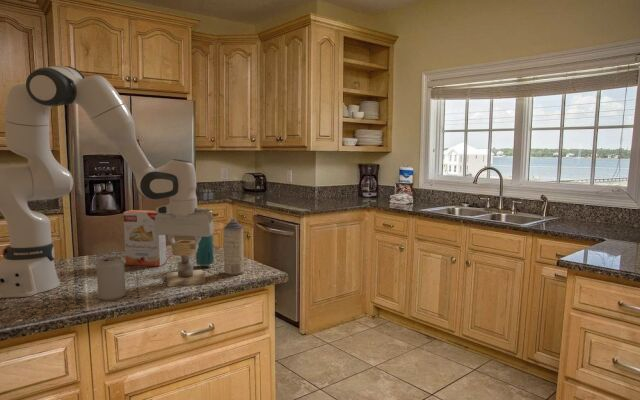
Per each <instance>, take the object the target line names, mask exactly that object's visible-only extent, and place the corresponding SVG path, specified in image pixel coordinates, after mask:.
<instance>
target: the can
mask: <svg viewBox="0 0 640 400" xmlns="http://www.w3.org/2000/svg"><path fill="white" fill-rule="evenodd" d="M122 259H123V258H122V257H121V256H107V257H102V258H100V259H98V263H97V264H96V280H97V283H96V284H97V297H98V298H99V299H101V301H108V302H109V301H115V300H120V299H122V298H123V297H124V296H125V295H126V276H125V261H123V260H122Z"/></svg>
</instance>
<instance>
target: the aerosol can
mask: <svg viewBox="0 0 640 400" xmlns="http://www.w3.org/2000/svg"><path fill="white" fill-rule="evenodd" d="M223 254H224V255H223V256H224V257H223V258H224V259H223V262H224V268H223V269H224V275H226V276H231V277H232V276H233V277H234V276H235V277H236V276H240V275H243V274H244V272H245V271H244V270H245V268H244V267H245V265H244V263H245V262H244V261H245V260H244V256H245V255H244V254H245V253H244V227H243V225H241V224H240V223H239V221H237V218H236V217H231V218H230V221H229V222H228V223H227V224H226V225H225V226H224V227H223Z"/></svg>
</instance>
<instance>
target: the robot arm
mask: <svg viewBox="0 0 640 400" xmlns="http://www.w3.org/2000/svg"><path fill="white" fill-rule="evenodd" d="M25 80H26V81H25V83H19V84H15V85H13V86H12V87H11V88H9V91H8V94H7V99H6V106H5V112H4V113H5V117H4V118H5V120H4V121H5V123H4V124H5V125H4V128H5V129H4V140H5V141H4V143H5V146H6V147H7V149H9V151H11V152H12V153H15V154H16V155H17V156H21V157H23V158H25V159H27V162H28V163H27V165H7V166H6V165H2V166H0V213H1V214H2V216H3V218H4V219H5V222H6V225H7V231H8V237H9V244H7V245H6V246H5V247H4V248H3V249H2V251H1V255H2V257H3V259H1V260H0V298H1V299H3V298H6V299H7V298H23V297H24V298H25V297H31V296H35V295H37V294H39V293H43V292H47V291H50V290H51V291H52V290H53V289H56V288H58V287H59V286H60V285H61V282H60V279H59V277H58V273H57V270H56V267H55V266H56V265H55V258H56V257H55V255H56V254H55V246H54V242H53V241H52V227H51V224H52V223H51V220H50V218H49V217H48V216H47V215H45V214H44V213H41V212H39V211H36V210H32V209H30V207H29V205H28V202H31V201H43V200H45V201H46V200H54V199H58V198H59V199H60V198H62V197H66V196H68V195H69V194H70V193H71V191H72V189H73V186H74V179H73V176H72V173H71V172H70V171H69V169H67V167H65V166H63V165H62V164H61V163H59V162H58V161H57V160H56V158H55V157H54V155H53V152H52V150H51V142H50V140H51V139H50V115H51V114H50V113H51V110H52V107H59V106H60V107H61V106H65V105H71V104H76V105H78V106H80V107H81V108H82V109H83V110H84V112H85V114H87V116H88V117H89V120H90V122H91V123H92V124H93V126H94V127H95V128H96V130H98V132H99V133H100V134H101V136H103V137H104V139H106V141H108V142H109V143H110V144H112V146H113V147H114V148H115V149H116V150H117V152H119V153H120V155H121V157H122V158H123V160H124V161H125V163H126V164H127V166H128V168H129V169H130V171H131V172H132V175H133V180H134V186H135V190H136V191H137V193H138V194H139V195H140V196H141V197H144V198H146V199H149V200H152V201H160V200H162V199H163V200H164V199H166V198H169V202H168V203H165V204H163V205H160V206H157V207H156V208H155V211H156V213H157V215H156V217H155V232H156V234H157V235H166V236H167V239H168V241H169V242H170V244H171V247H172V243H174V242H176V240H175V237H176V236H179V237H181V236H182V237H194V240H196V241H195V243H194V244H192V249H198V243H199V242H200V240H201V237H209V236H211V235H213V234H214V233H215V226H214V214H213V211H212V210H210V208H209V209H208V208H201V207H200V208H199V207H198V197H197V194H196V193H197V192H196V190H197V185H198V184H197V173H196V172H197V171H196V168H195V166H194V165H195V164H194V163H192V162H191V161H189V160H183V159H175V158H173V159H170V160H169V161H167V162H166V163H164V164H163V165H161V166H159V167H157V168H155V167H154V166H153V165H152V164H151V163H150V162H149V159H148V158H147V157H146V155H145V152H143V150H142V149H141V146H140V144H139V143H138V139H137V137H136V124H135V122H134V118H133V116H132V114H131V111H130V110H129V108H128V105H127V104H126V103H125V101H124V99H123V98H122V97H121V95H120V93H118V91H117V90H116V88H114V86H113V85H112V83H110V81H108V79H106V77H104V76H102V75H98V74H97V75H96V74H94V75H88V76H86V77H85V76H84V74H83V72H81V71H80V70H78V69H76V68H74V67H72V66H70V65H69V66H67V65H64V66H63V65H50V66H48V67H39V68H37V69H35V70H34V71H32V72H31V73H30V74H28V76H27V78H26V79H25ZM213 236H214V235H213Z"/></svg>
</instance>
